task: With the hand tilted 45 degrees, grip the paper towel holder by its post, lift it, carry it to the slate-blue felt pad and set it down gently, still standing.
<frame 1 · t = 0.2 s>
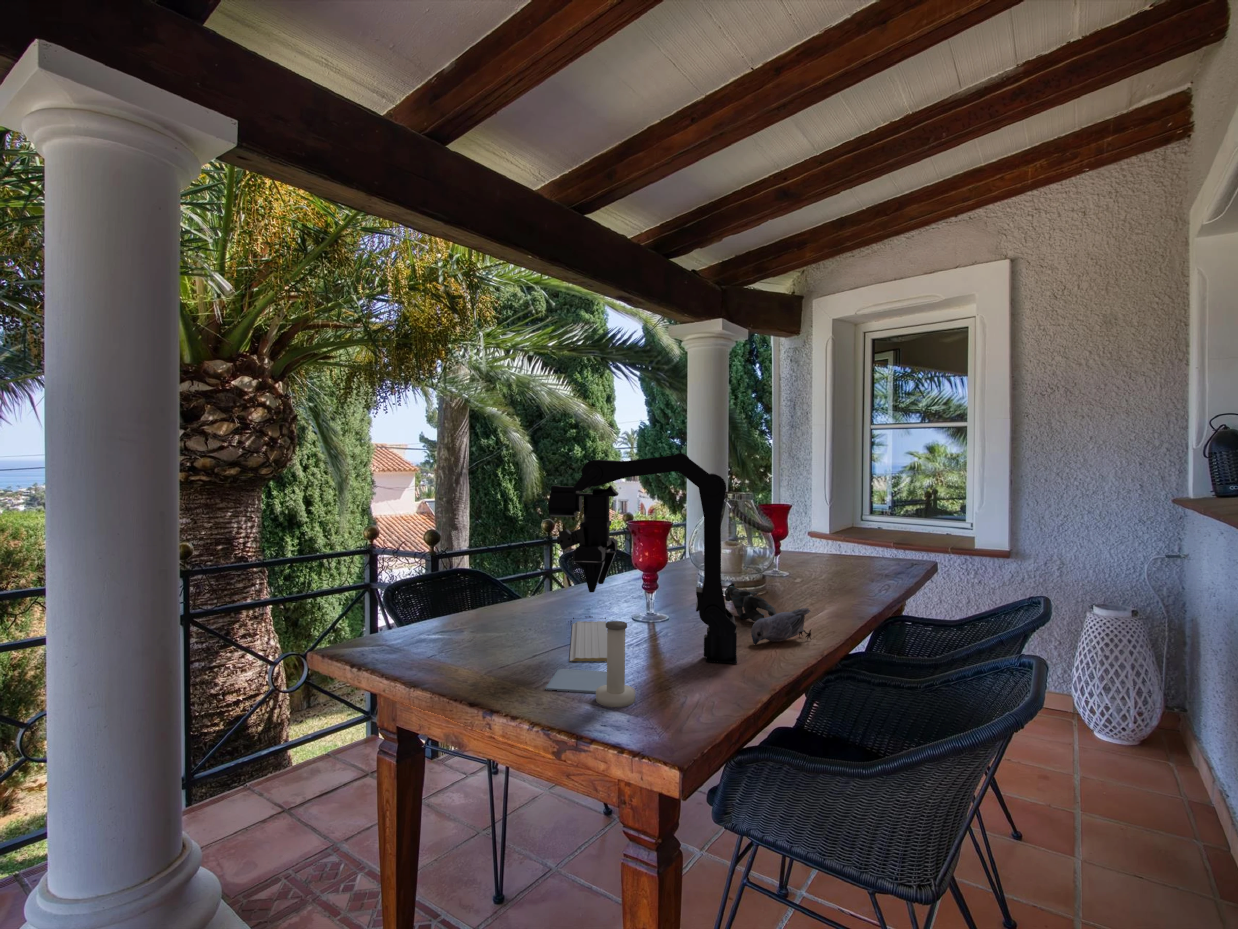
hand: (596, 588, 144), 14 cm above the table, tool pointing down, fingers open, 9 cm apart
bird: (780, 643, 155), on the table
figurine: (758, 622, 174), on the table
felt pad: (580, 681, 126), on the table
baseboard: (586, 644, 153), on the table
paper towel holder: (615, 699, 117), on the table
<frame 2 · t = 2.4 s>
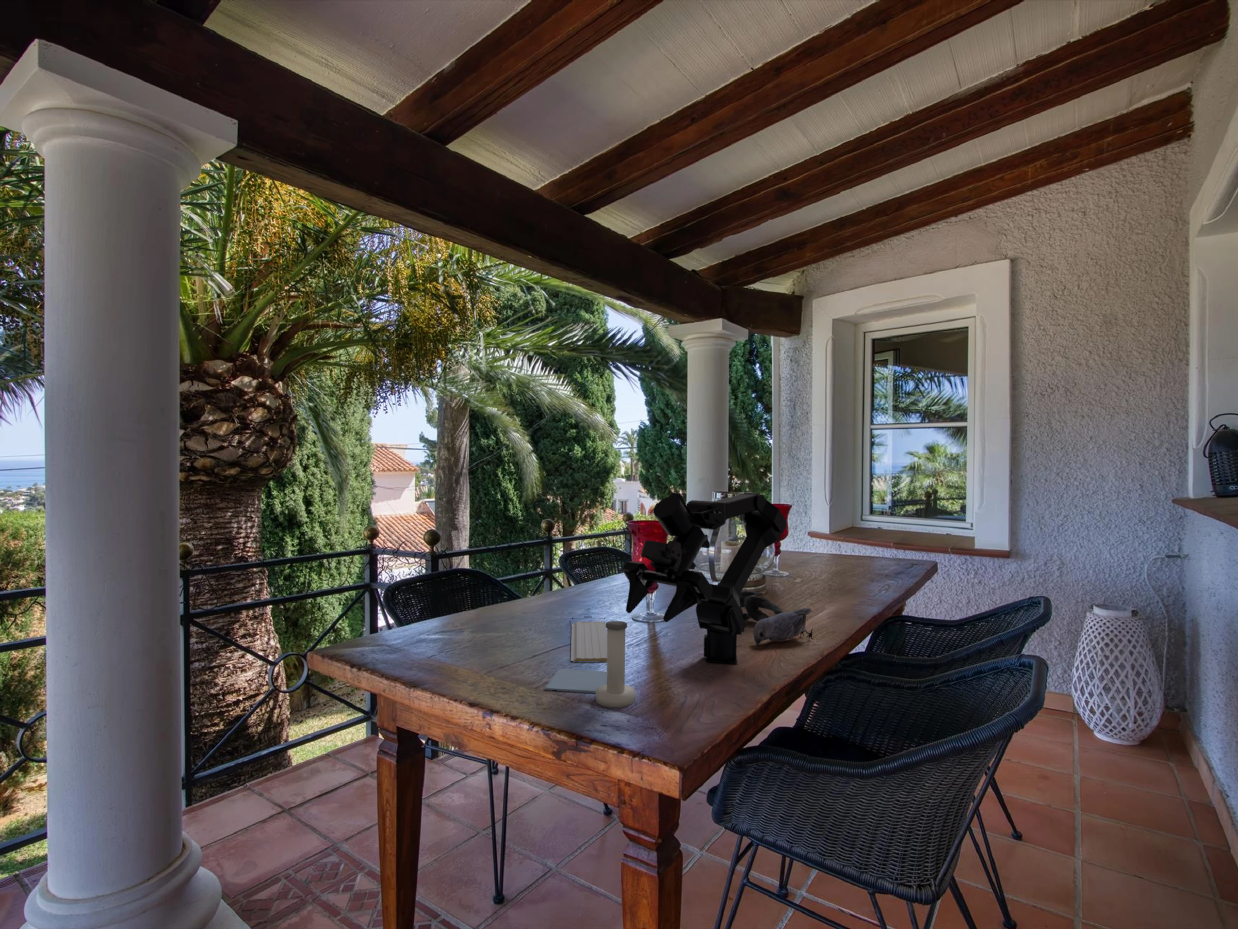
hand: (645, 616, 123), 13 cm above the table, tool tilted 45°, fingers open, 9 cm apart
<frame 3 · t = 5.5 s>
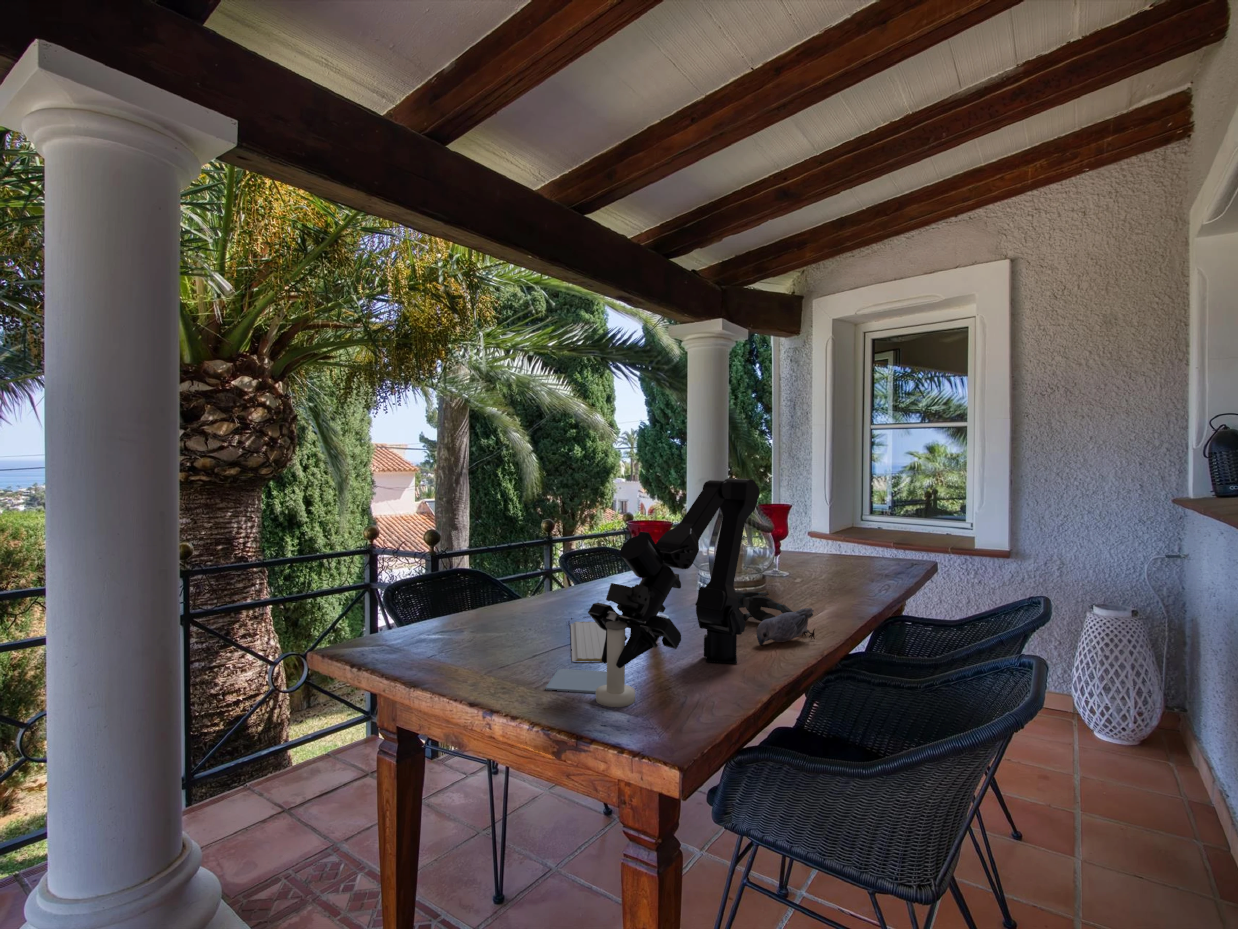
hand: (610, 664, 116), 7 cm above the table, tool tilted 45°, fingers closed on paper towel holder, 3 cm apart
paper towel holder: (615, 699, 117), on the table, touching gripper
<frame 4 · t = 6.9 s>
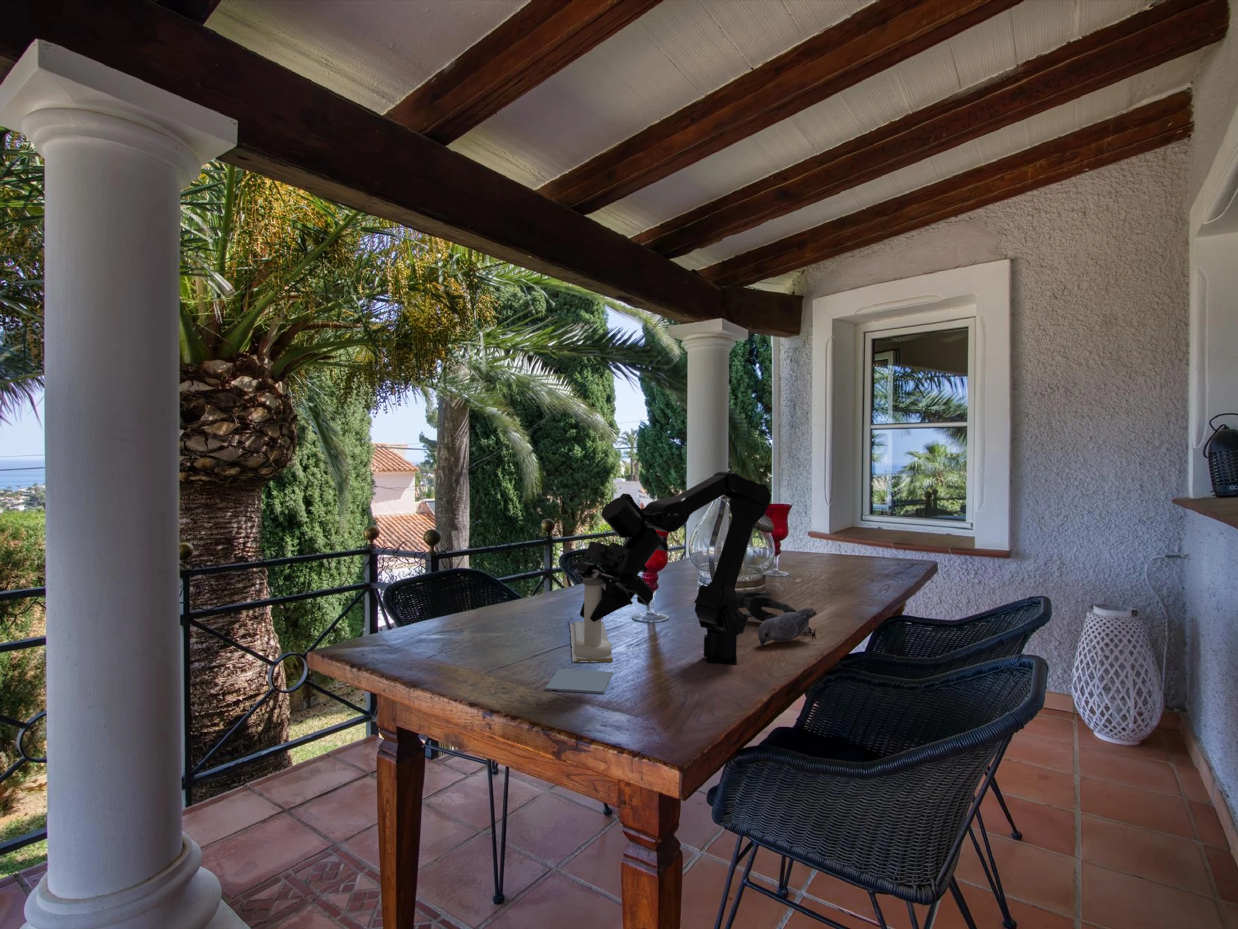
hand: (586, 618, 121), 13 cm above the table, tool tilted 45°, fingers closed on paper towel holder, 3 cm apart
paper towel holder: (592, 652, 122), point 7 cm above the table, touching gripper
when the fingers open (8 cm above the table, at t = 8.8 s): paper towel holder drops 1 cm, resting on felt pad.
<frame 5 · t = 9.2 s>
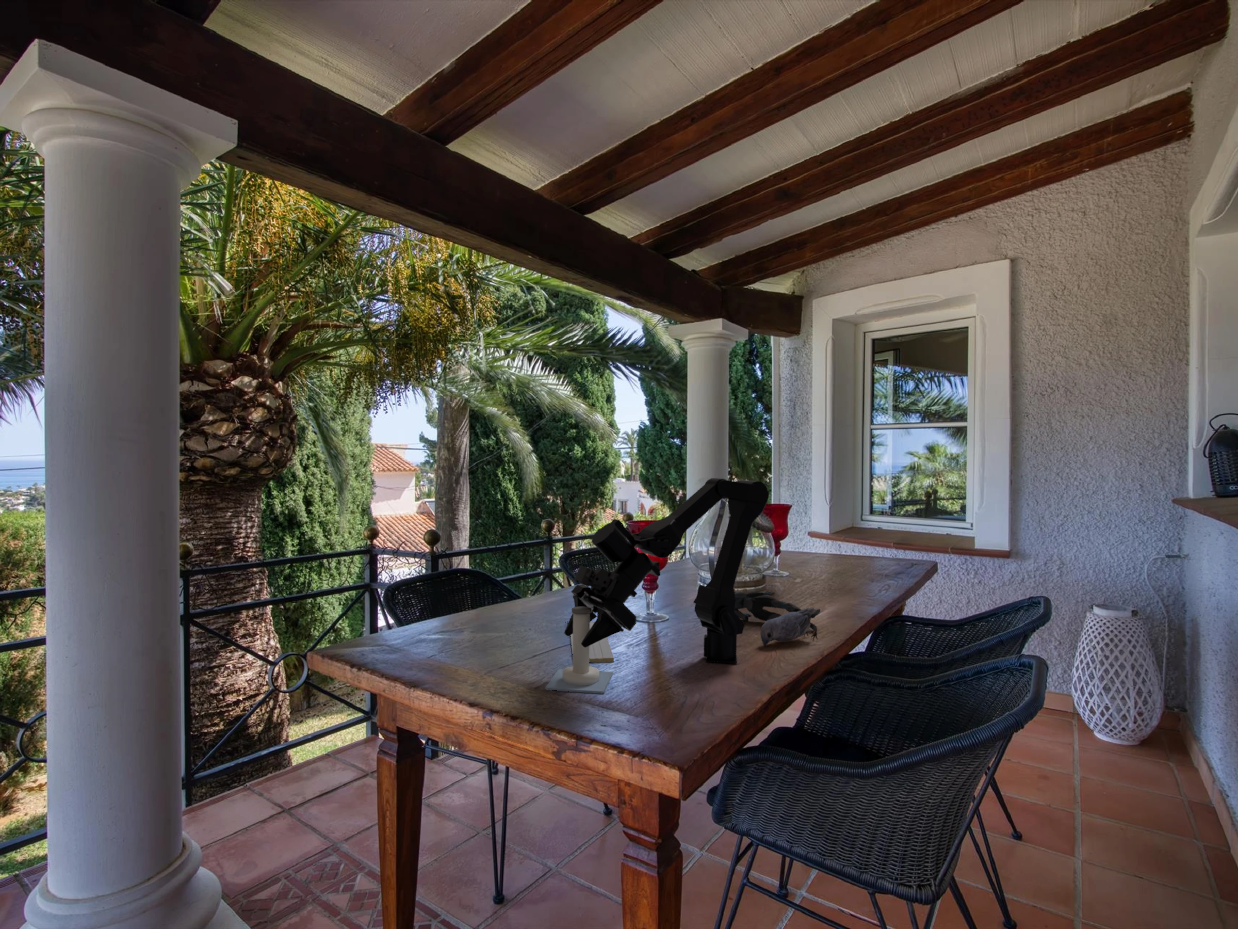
hand: (574, 640, 125), 8 cm above the table, tool tilted 45°, fingers open, 8 cm apart
paper towel holder: (580, 679, 126), resting on felt pad
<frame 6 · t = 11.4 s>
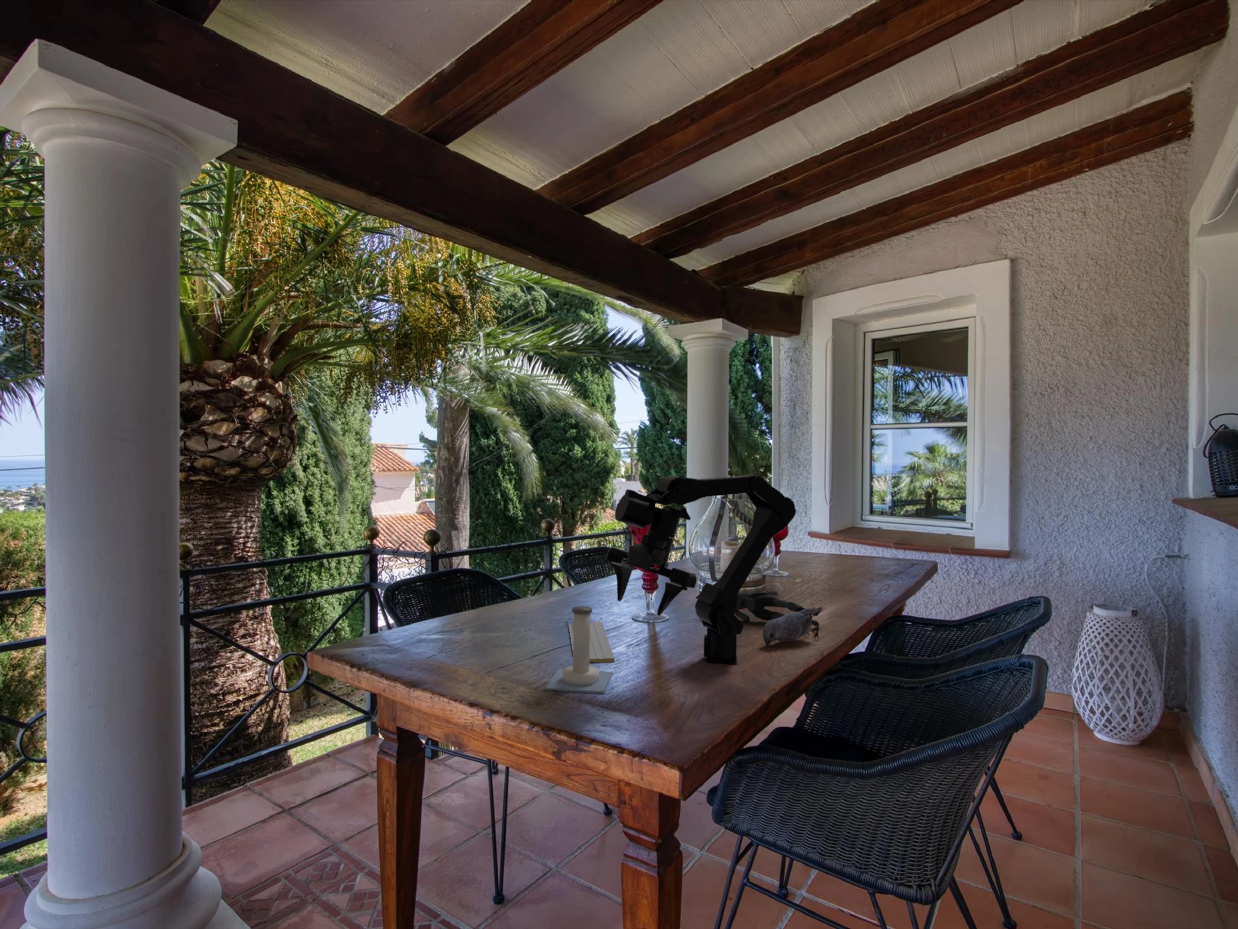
hand: (638, 608, 134), 12 cm above the table, tool tilted 20°, fingers open, 9 cm apart
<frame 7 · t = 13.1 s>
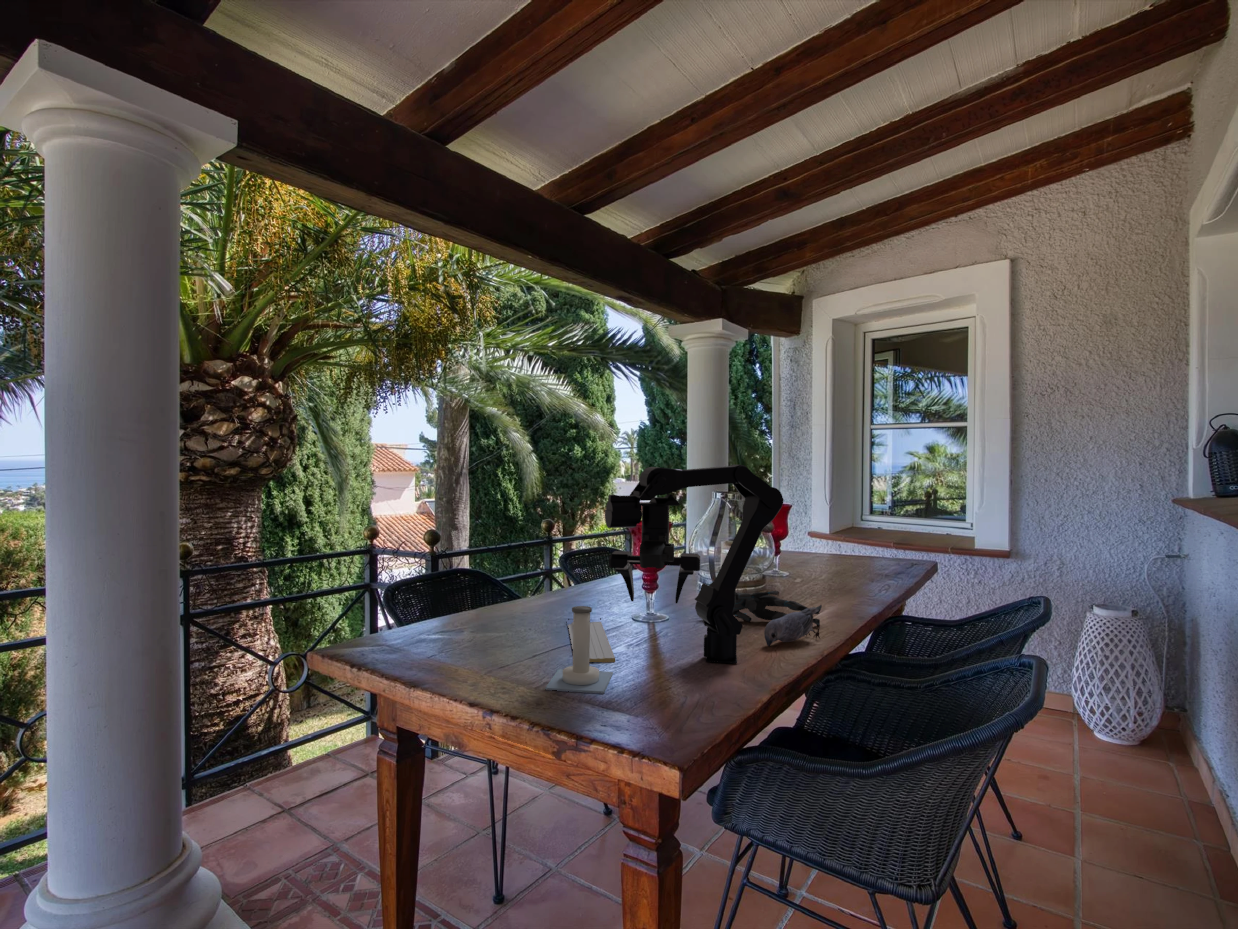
hand: (654, 602, 137), 13 cm above the table, tool pointing down, fingers open, 9 cm apart
at the end: paper towel holder inside the target area on the felt pad (0.1 cm from its centre), point 0.5 cm above the felt pad's base; paper towel holder tilted 2°; the gripper is holding nothing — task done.
